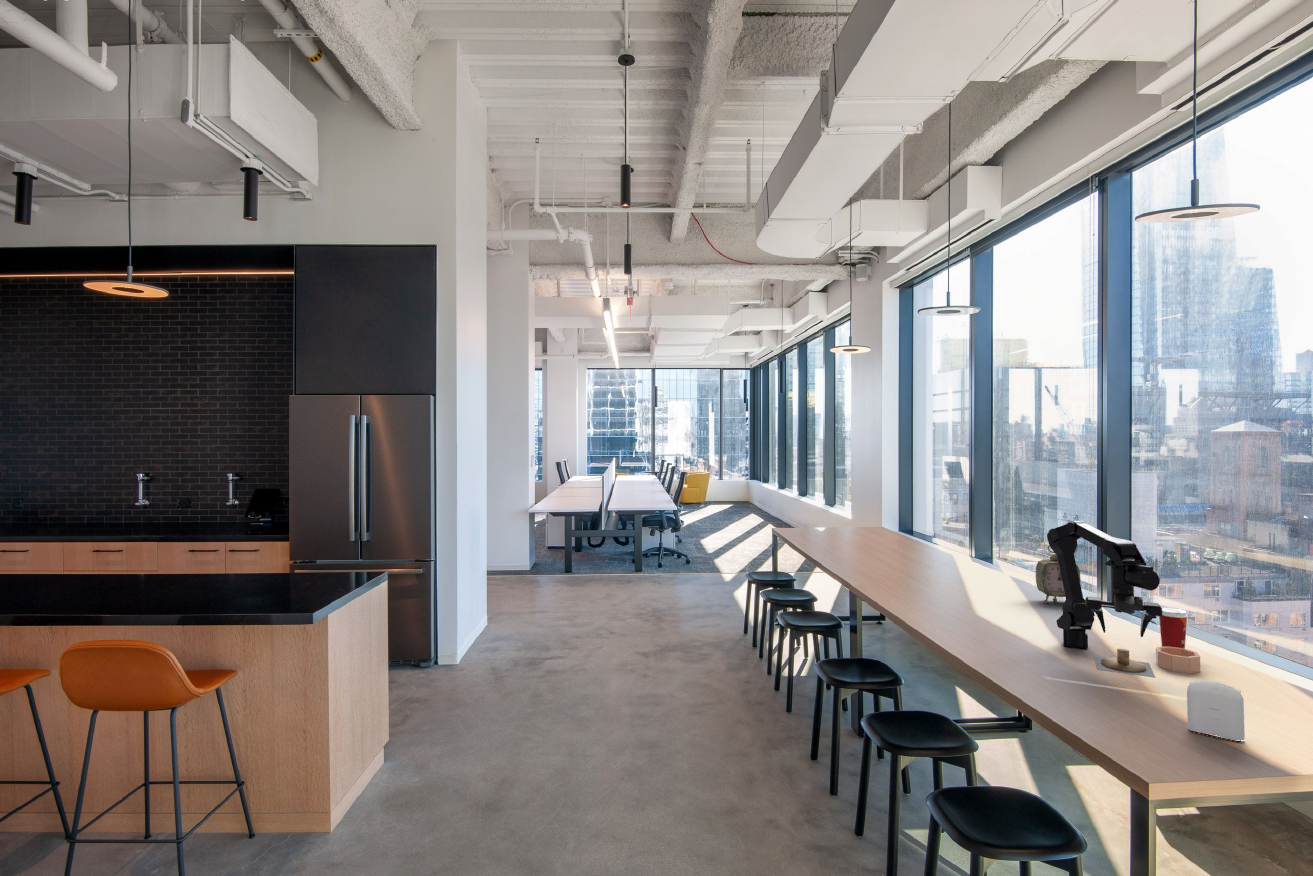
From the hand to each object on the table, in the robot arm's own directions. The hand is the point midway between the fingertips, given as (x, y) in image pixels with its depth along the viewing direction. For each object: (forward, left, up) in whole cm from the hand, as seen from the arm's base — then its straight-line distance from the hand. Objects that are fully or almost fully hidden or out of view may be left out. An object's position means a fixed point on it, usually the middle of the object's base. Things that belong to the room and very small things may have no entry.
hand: (1122, 634), depth 200 cm
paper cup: (+15, +23, -10) cm, 29 cm away
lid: (0, 0, -10) cm, 10 cm away
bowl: (+14, +7, -10) cm, 19 cm away
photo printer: (+14, -44, -10) cm, 47 cm away
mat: (0, 0, -10) cm, 10 cm away
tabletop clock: (-16, +81, -10) cm, 83 cm away
